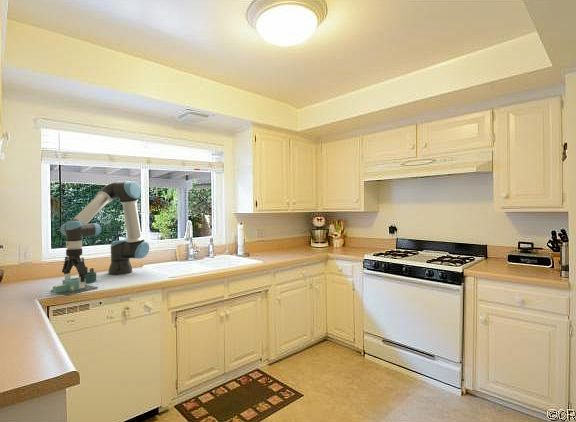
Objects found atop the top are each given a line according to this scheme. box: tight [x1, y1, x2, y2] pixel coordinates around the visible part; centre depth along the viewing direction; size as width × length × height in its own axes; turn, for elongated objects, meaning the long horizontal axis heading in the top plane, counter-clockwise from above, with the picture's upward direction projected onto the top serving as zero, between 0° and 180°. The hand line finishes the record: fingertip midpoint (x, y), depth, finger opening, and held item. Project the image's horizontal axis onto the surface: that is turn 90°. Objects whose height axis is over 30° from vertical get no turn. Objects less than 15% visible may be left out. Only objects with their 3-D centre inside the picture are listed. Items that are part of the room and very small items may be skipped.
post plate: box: [50, 284, 98, 296], centre depth 179 cm, size 16×16×5 cm
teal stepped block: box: [52, 276, 87, 294], centre depth 176 cm, size 14×8×5 cm, turn 152°
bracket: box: [85, 266, 97, 284], centre depth 200 cm, size 9×9×9 cm
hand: (74, 286), depth 179 cm, fingers open, 13 cm apart
